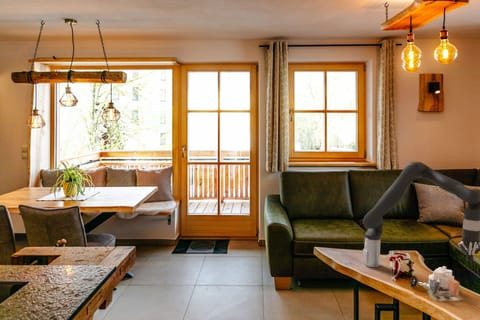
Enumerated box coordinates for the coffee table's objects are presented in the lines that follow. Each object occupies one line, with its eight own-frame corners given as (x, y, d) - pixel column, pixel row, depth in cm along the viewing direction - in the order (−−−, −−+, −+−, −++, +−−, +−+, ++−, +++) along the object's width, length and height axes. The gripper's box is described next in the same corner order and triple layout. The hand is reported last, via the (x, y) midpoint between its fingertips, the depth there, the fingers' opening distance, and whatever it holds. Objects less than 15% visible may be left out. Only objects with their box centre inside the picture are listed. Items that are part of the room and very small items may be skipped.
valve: (438, 292, 193) (414, 285, 202) (438, 280, 192) (415, 273, 201) (433, 296, 188) (409, 288, 197) (433, 284, 188) (410, 276, 197)
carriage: (454, 297, 184) (455, 283, 184) (448, 292, 190) (449, 279, 189) (460, 297, 185) (461, 283, 184) (453, 292, 190) (454, 279, 189)
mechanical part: (438, 282, 206) (439, 261, 205) (457, 291, 195) (458, 269, 194) (423, 285, 202) (424, 264, 201) (442, 294, 191) (443, 272, 190)
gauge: (436, 301, 183) (437, 285, 182) (429, 295, 190) (429, 279, 189) (463, 301, 184) (464, 284, 183) (455, 295, 190) (456, 279, 189)
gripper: (463, 230, 181) (461, 264, 183) (489, 230, 181) (487, 264, 183) (454, 226, 189) (452, 258, 190) (479, 226, 189) (477, 258, 190)
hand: (469, 261), depth 186 cm, fingers closed
